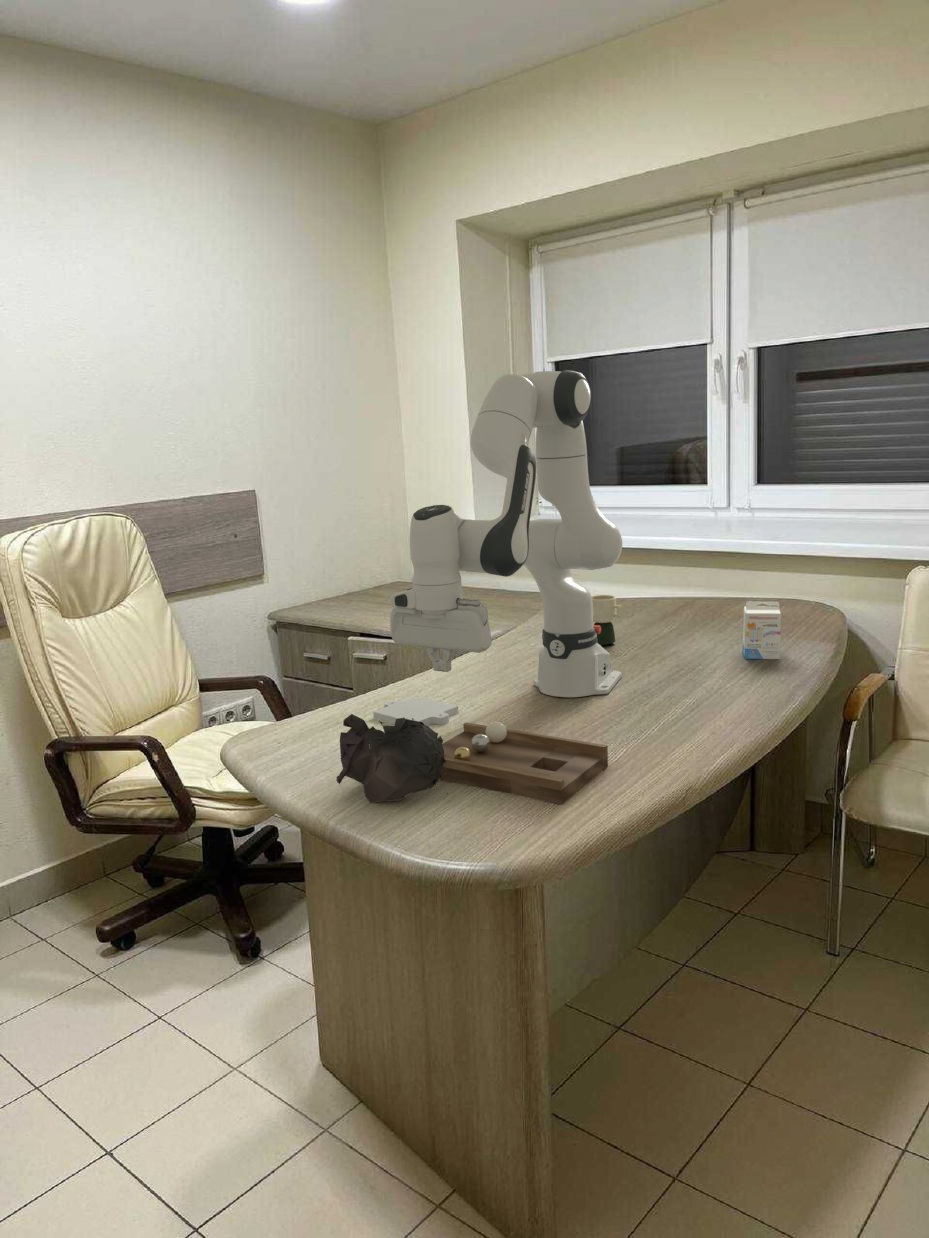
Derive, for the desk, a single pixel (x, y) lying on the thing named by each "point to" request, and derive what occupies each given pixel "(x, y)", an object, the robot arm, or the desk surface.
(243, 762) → the desk surface
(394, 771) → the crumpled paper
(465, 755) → the brass ball
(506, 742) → the board
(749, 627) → the ink box
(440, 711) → the mounting plate
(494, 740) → the cream ball
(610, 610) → the character mug
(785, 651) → the desk surface
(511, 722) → the desk surface
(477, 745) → the steel ball
